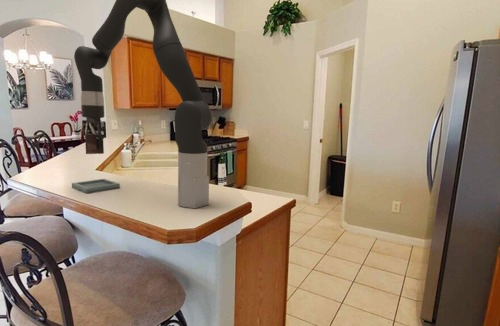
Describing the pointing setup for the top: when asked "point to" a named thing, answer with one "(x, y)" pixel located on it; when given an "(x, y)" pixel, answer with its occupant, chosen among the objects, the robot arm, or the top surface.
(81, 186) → the tray
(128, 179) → the top surface
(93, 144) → the box
